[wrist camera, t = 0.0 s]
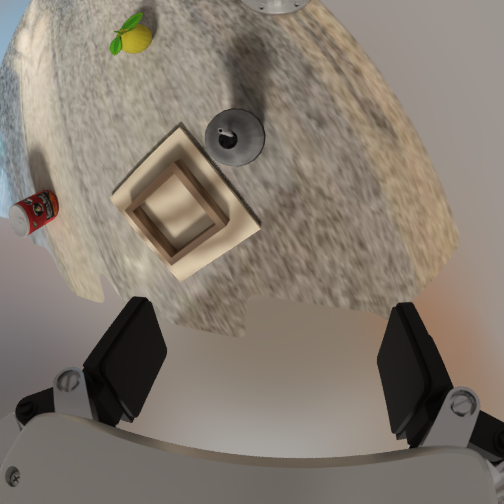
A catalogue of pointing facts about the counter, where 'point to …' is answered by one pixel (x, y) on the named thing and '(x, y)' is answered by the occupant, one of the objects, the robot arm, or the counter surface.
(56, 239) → the counter surface
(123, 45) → the lemon
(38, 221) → the canned food
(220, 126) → the beverage cup
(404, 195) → the counter surface
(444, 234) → the counter surface
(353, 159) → the counter surface
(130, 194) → the cup holder
